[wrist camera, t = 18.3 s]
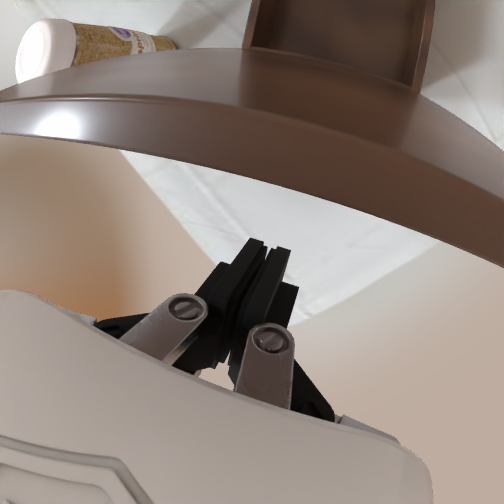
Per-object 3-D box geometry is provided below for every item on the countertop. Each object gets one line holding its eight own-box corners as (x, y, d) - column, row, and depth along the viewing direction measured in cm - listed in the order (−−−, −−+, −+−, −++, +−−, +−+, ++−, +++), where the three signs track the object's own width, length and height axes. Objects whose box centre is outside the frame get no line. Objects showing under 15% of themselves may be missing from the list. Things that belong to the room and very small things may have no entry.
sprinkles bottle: (187, 45, 20) (61, 22, 8) (165, 90, 22) (36, 102, 11) (150, 31, 20) (27, 15, 8) (130, 73, 22) (7, 82, 11)
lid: (-37, 108, 3) (-33, 133, 3) (616, 287, 1) (593, 318, 2) (238, 48, 15) (237, 56, 15) (421, 94, 13) (418, 103, 13)
